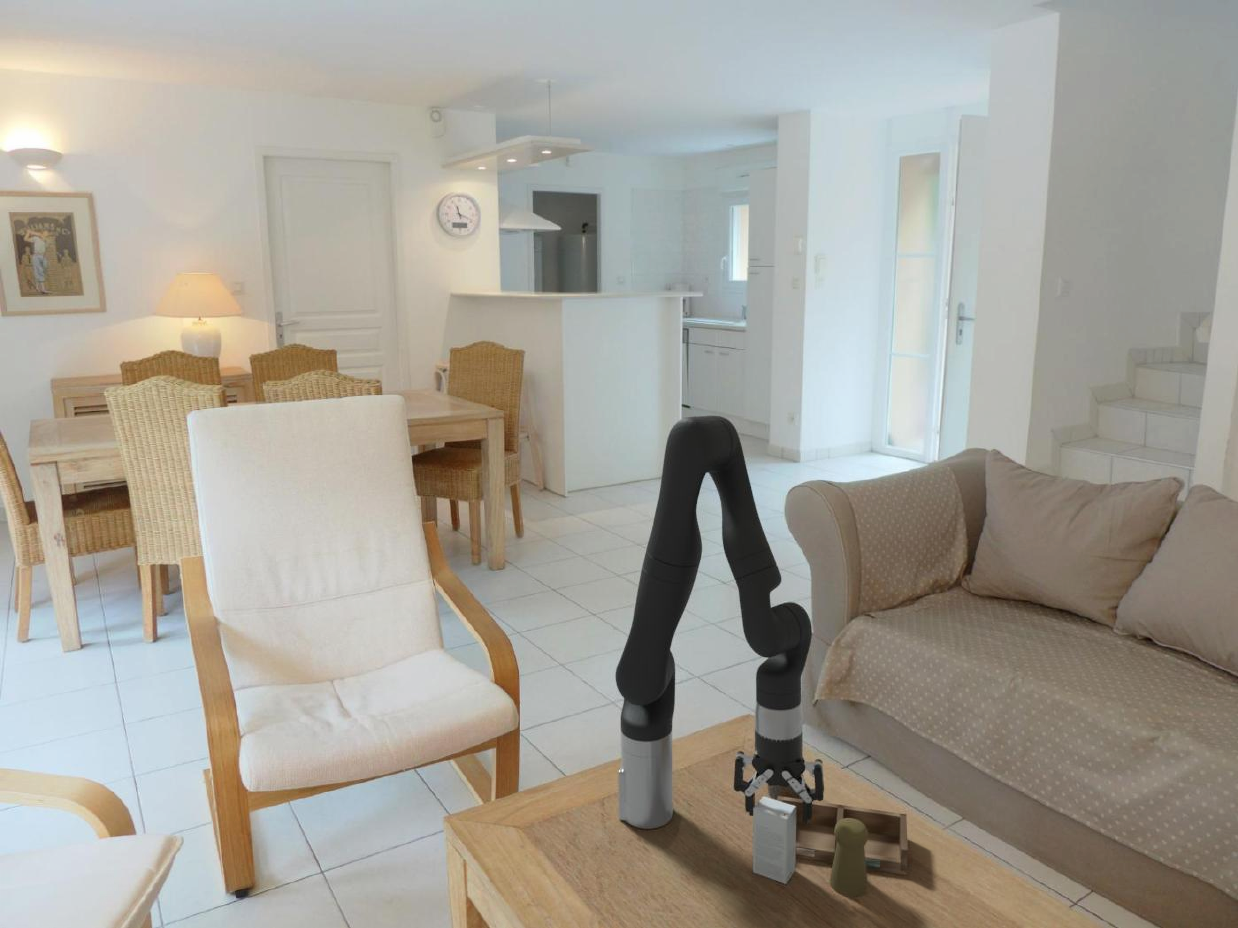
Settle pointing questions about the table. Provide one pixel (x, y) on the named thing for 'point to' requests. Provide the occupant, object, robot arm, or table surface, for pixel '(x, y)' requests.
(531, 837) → the table surface
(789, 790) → the vase
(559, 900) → the table surface
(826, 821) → the slot rack
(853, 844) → the cork
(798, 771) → the robot arm
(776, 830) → the skincare box
